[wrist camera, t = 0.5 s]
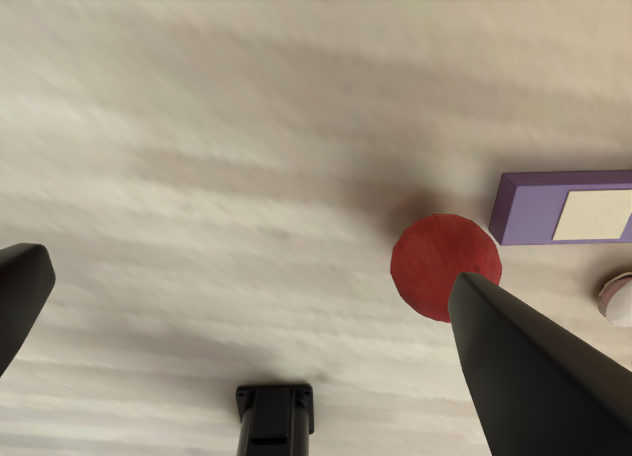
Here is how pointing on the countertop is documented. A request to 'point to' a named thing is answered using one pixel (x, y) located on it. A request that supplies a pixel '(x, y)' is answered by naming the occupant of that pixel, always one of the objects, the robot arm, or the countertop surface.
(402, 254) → the onion
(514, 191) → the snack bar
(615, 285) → the white clam shell
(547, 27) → the countertop surface
